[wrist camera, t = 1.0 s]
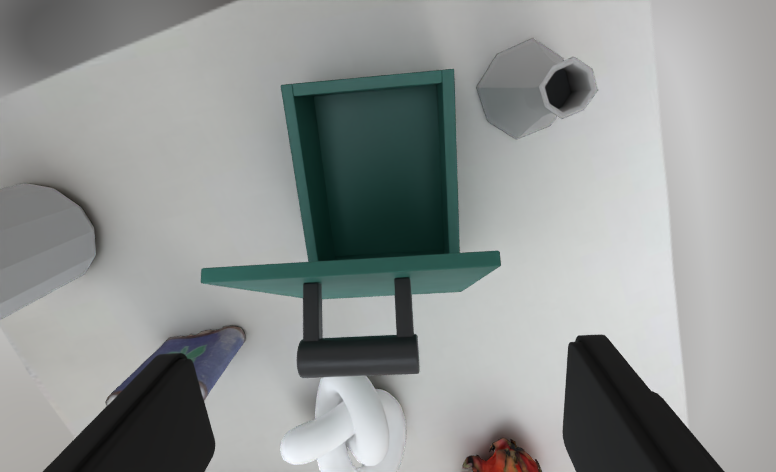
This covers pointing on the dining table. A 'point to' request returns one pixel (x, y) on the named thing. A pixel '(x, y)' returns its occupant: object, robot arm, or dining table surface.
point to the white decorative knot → (349, 429)
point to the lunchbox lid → (359, 281)
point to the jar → (40, 244)
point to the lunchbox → (375, 165)
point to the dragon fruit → (503, 459)
